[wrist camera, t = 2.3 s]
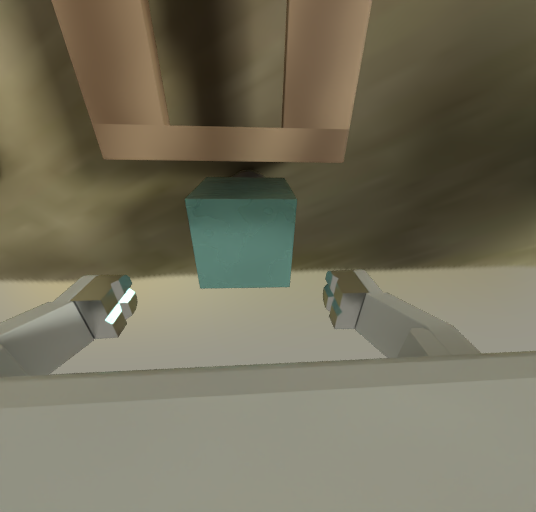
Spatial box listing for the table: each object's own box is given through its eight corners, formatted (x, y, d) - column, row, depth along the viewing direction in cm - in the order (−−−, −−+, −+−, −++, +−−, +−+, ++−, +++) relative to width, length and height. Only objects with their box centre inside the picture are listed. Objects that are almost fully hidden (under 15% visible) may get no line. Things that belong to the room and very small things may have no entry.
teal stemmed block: (277, 165, 21) (296, 199, 11) (275, 219, 23) (289, 286, 13) (219, 164, 20) (184, 198, 10) (223, 219, 23) (200, 288, 13)
